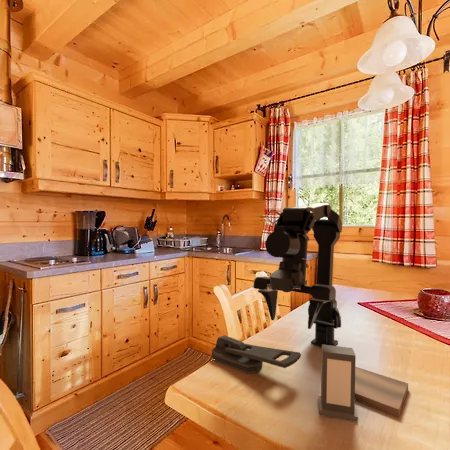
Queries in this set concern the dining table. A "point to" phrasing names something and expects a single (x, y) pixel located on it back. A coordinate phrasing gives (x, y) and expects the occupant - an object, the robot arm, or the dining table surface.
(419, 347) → the dining table surface
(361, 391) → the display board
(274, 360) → the zipper pull
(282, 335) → the dining table surface
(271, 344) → the dining table surface
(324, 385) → the picture frame
